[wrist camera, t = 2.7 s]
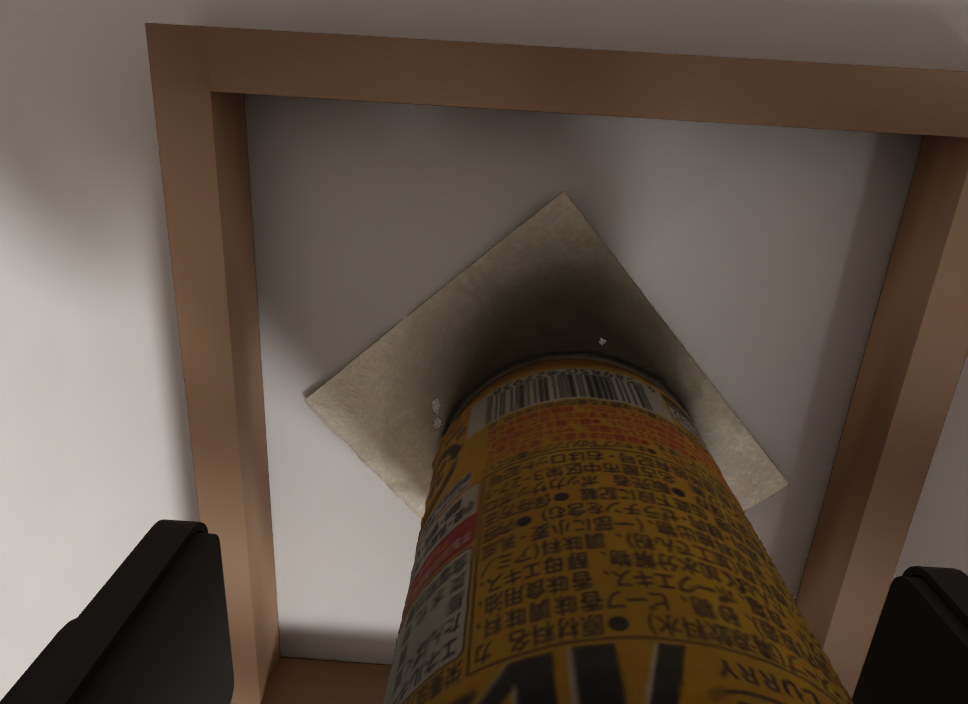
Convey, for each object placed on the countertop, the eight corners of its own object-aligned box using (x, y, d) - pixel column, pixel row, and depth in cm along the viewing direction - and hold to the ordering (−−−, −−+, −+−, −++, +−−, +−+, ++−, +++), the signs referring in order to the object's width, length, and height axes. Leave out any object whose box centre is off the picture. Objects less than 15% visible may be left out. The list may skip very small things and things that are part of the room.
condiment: (536, 631, 17) (588, 1664, 6) (306, 397, 15) (-332, 1285, 4) (785, 479, 15) (1589, 1548, 4) (562, 188, 13) (892, 662, 2)
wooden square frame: (799, 724, 18) (825, 778, 16) (246, 683, 18) (223, 732, 16) (995, 81, 12) (1058, 77, 11) (186, 33, 12) (144, 23, 11)
